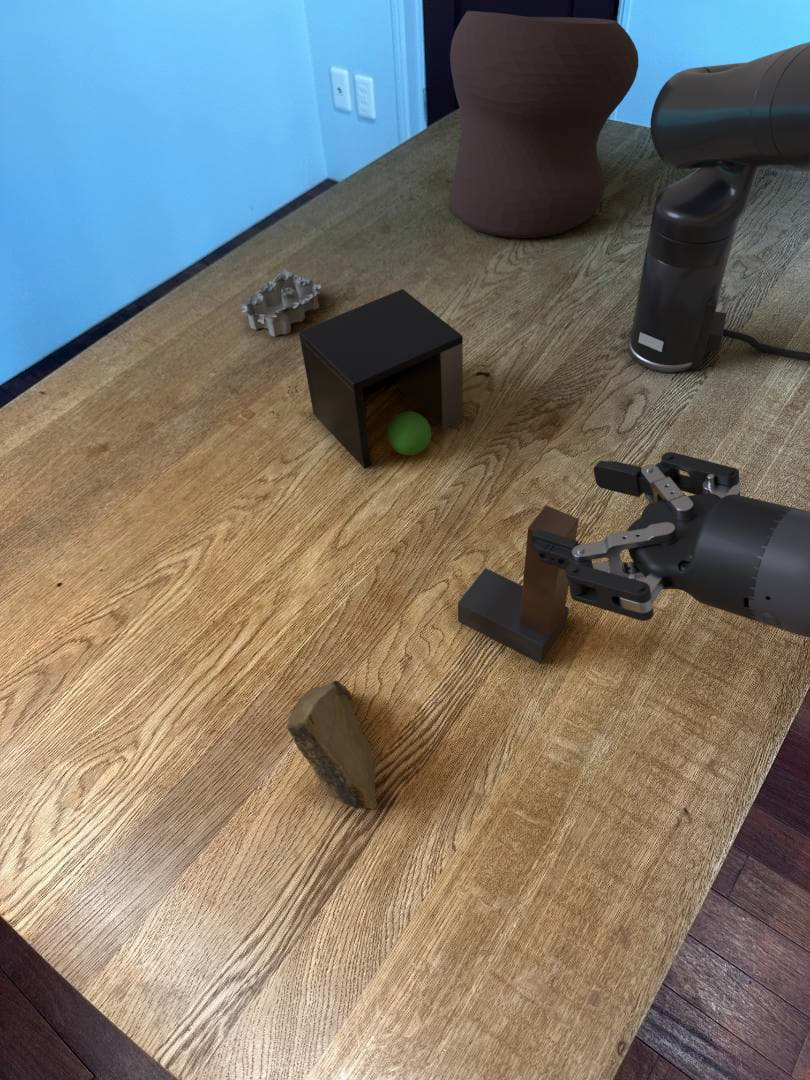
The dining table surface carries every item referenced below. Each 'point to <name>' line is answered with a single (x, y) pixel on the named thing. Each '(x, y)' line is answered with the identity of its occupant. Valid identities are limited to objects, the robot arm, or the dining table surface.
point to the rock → (334, 744)
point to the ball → (409, 433)
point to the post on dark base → (523, 597)
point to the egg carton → (281, 303)
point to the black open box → (382, 366)
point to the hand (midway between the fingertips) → (566, 506)
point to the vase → (534, 118)
